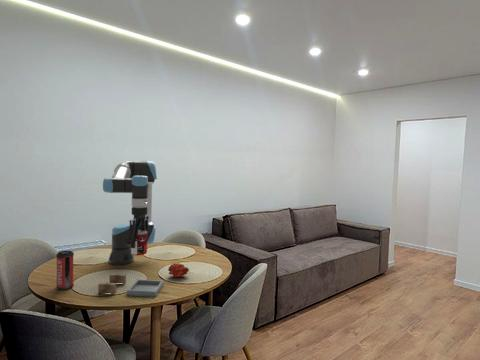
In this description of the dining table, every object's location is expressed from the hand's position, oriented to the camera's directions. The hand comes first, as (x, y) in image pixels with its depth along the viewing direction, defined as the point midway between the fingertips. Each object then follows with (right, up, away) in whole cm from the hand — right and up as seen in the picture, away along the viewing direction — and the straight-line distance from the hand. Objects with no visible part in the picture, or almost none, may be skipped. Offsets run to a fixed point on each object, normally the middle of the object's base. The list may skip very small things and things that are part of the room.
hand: (138, 251), depth 154 cm
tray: (+3, -20, +1) cm, 20 cm away
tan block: (-14, -19, +2) cm, 24 cm away
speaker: (-38, -19, +1) cm, 42 cm away
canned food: (0, -1, 0) cm, 1 cm away
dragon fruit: (+16, -19, +21) cm, 32 cm away
